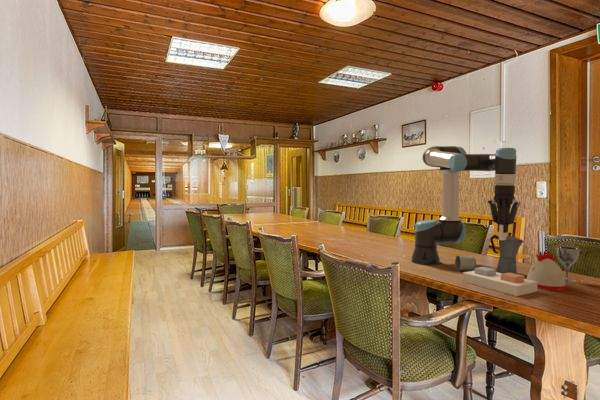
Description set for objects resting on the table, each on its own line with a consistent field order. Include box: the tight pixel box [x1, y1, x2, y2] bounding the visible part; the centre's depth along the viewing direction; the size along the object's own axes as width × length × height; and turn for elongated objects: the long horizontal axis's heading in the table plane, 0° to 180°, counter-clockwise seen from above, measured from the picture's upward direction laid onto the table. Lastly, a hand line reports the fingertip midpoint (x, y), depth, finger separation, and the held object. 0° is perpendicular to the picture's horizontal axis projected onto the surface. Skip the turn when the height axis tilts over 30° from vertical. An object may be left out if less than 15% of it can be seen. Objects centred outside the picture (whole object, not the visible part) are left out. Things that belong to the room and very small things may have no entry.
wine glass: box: [556, 245, 580, 284], centre depth 160 cm, size 8×8×15 cm
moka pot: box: [490, 232, 525, 274], centre depth 174 cm, size 10×15×20 cm, turn 41°
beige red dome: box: [526, 250, 567, 291], centre depth 152 cm, size 14×14×15 cm
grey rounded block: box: [474, 266, 497, 276], centre depth 156 cm, size 6×6×4 cm
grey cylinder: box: [454, 254, 477, 272], centre depth 181 cm, size 11×8×8 cm
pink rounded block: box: [501, 272, 525, 283], centre depth 146 cm, size 6×6×4 cm
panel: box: [462, 270, 538, 297], centre depth 151 cm, size 24×14×4 cm, turn 28°
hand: (502, 239), depth 151 cm, fingers closed
